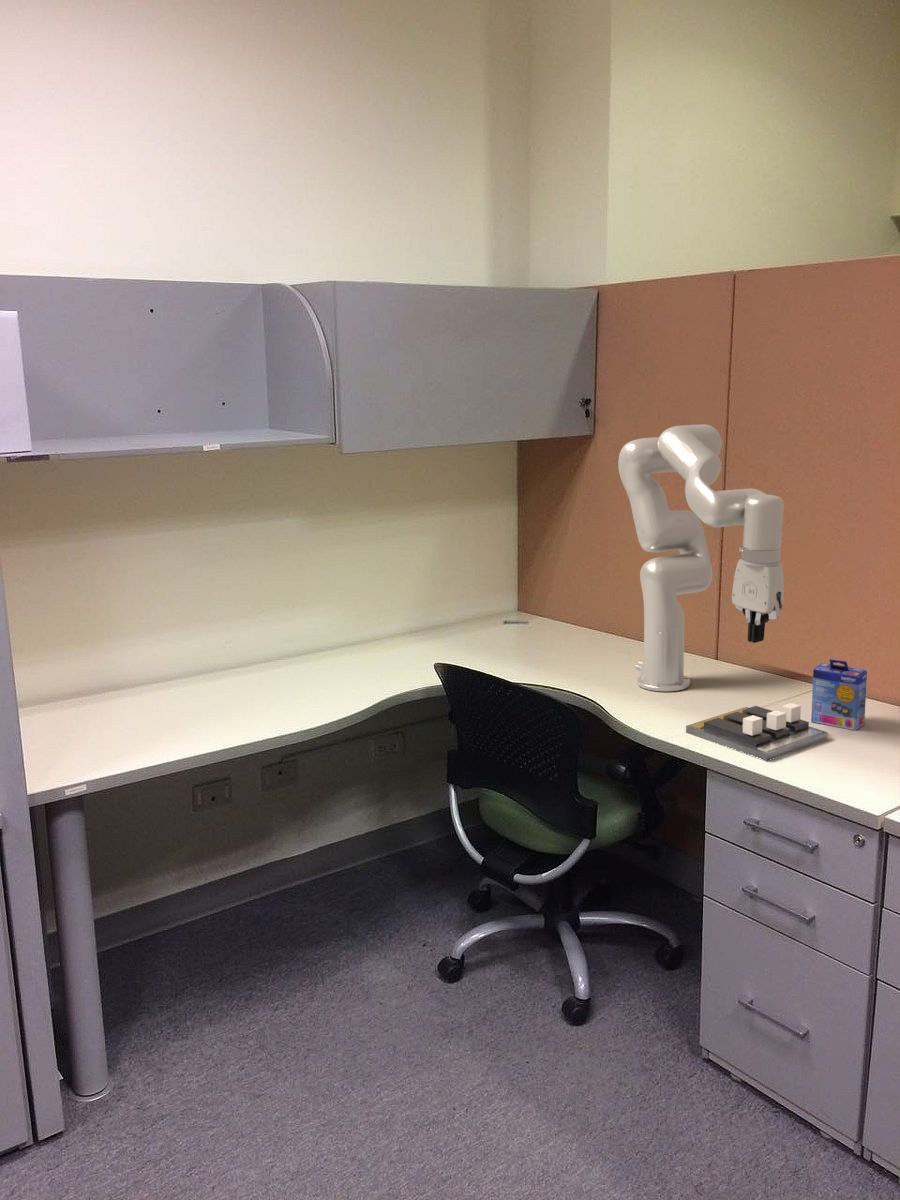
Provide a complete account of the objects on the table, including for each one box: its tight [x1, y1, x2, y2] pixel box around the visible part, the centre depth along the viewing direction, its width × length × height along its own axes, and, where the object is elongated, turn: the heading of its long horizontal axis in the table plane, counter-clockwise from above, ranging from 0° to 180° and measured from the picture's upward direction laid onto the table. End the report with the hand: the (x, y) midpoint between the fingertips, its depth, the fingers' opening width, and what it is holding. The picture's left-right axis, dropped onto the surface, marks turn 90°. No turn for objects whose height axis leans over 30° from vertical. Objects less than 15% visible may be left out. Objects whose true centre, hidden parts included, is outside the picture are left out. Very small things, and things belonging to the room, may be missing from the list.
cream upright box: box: [743, 715, 763, 736], centre depth 203 cm, size 2×3×3 cm
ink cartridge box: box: [810, 658, 868, 731], centre depth 214 cm, size 10×6×14 cm, turn 51°
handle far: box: [781, 702, 802, 722], centre depth 209 cm, size 2×3×3 cm
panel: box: [685, 705, 829, 762], centre depth 210 cm, size 21×19×3 cm
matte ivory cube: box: [766, 710, 786, 730], centre depth 205 cm, size 2×3×3 cm
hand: (755, 640), depth 211 cm, fingers closed
